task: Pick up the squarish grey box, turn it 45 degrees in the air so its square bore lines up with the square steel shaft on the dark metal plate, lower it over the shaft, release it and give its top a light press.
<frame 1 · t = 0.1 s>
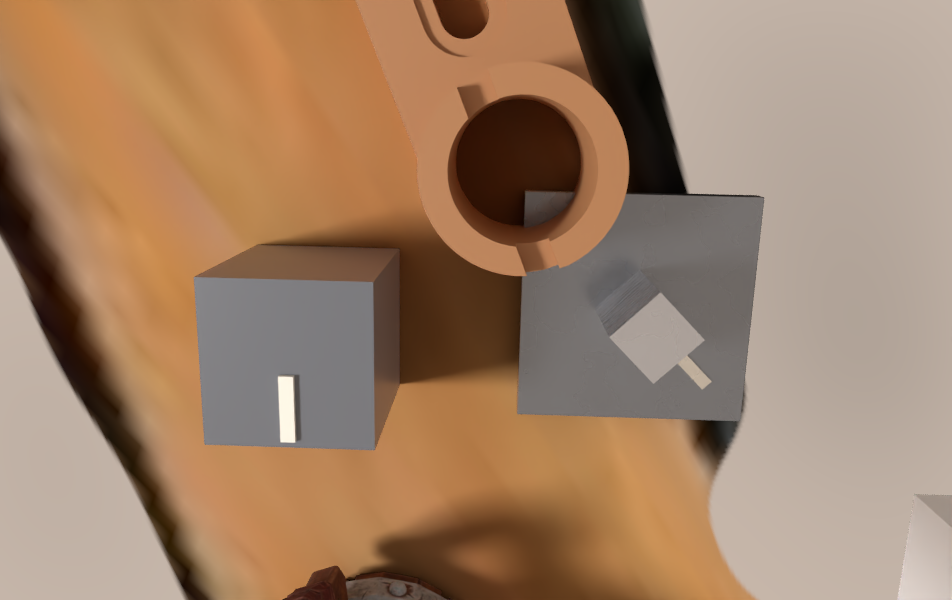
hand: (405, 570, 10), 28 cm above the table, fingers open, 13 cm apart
bracket: (482, 64, 36), on the table
shaft base: (632, 305, 38), on the table
squarish grey box: (329, 315, 38), on the table
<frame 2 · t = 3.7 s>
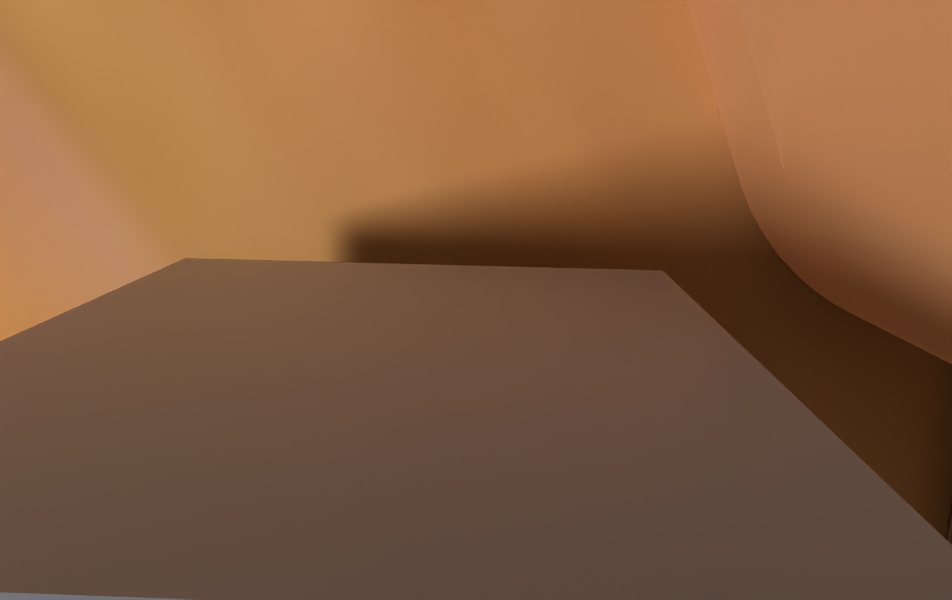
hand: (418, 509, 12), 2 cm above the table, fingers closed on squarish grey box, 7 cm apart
squarish grey box: (421, 483, 12), point 2 cm above the table, touching gripper
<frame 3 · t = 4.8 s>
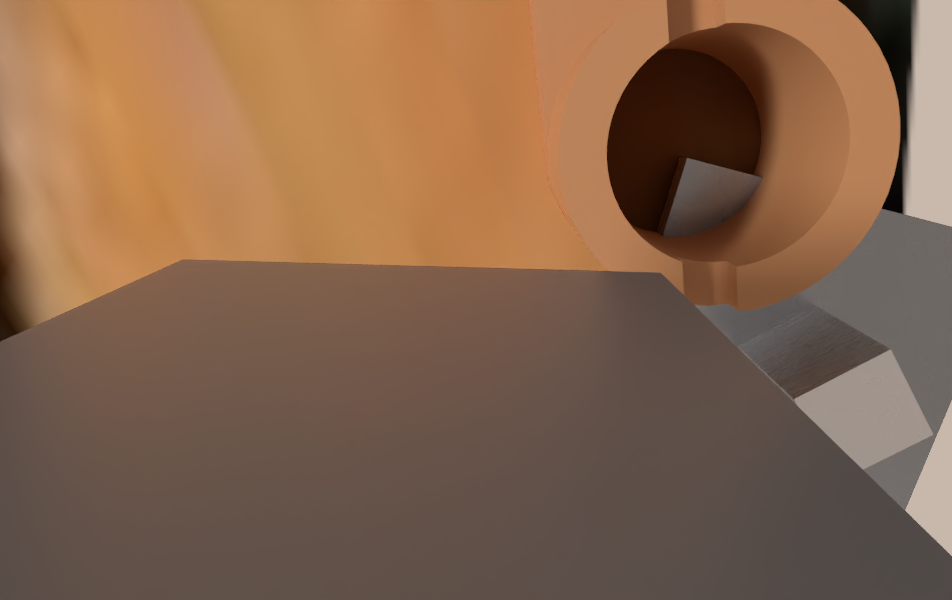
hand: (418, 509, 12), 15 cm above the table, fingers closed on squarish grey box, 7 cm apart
shaft base: (783, 352, 27), on the table
squarish grey box: (418, 485, 12), point 15 cm above the table, touching gripper
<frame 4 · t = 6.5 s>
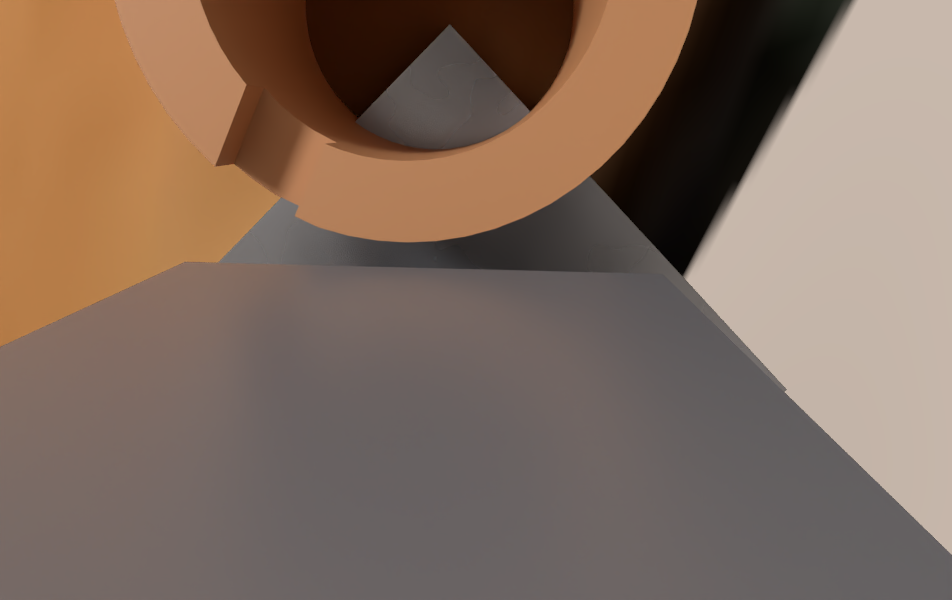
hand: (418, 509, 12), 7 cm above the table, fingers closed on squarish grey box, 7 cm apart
shaft base: (448, 366, 19), on the table
squarish grey box: (421, 486, 12), point 7 cm above the table, touching gripper
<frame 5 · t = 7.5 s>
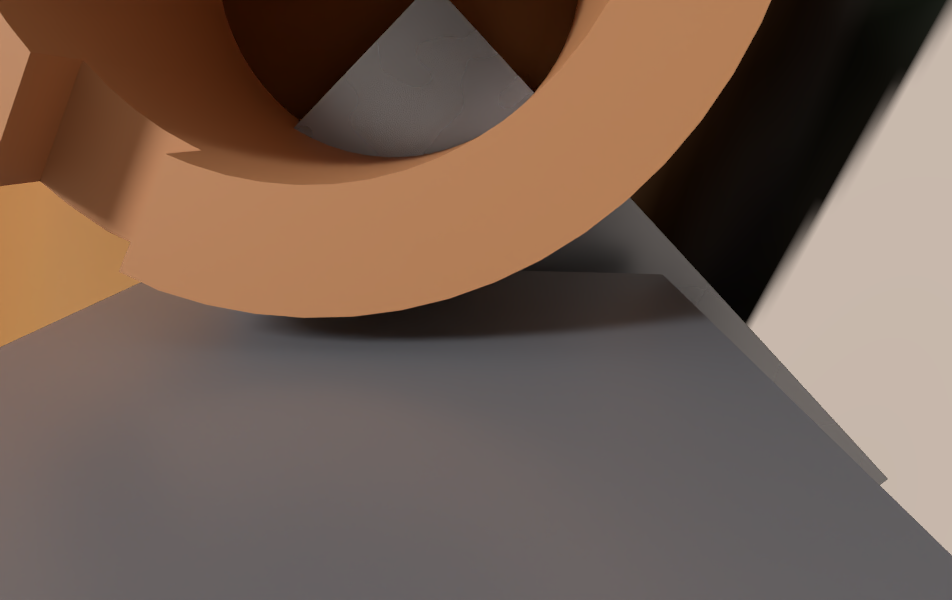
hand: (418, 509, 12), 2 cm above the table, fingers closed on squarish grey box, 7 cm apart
shaft base: (434, 440, 14), on the table
squarish grey box: (421, 487, 12), point 2 cm above the table, touching gripper
when the fingers open (2 cm above the table, at t = 7.9 s): squarish grey box stays where it is, resting on shaft base.
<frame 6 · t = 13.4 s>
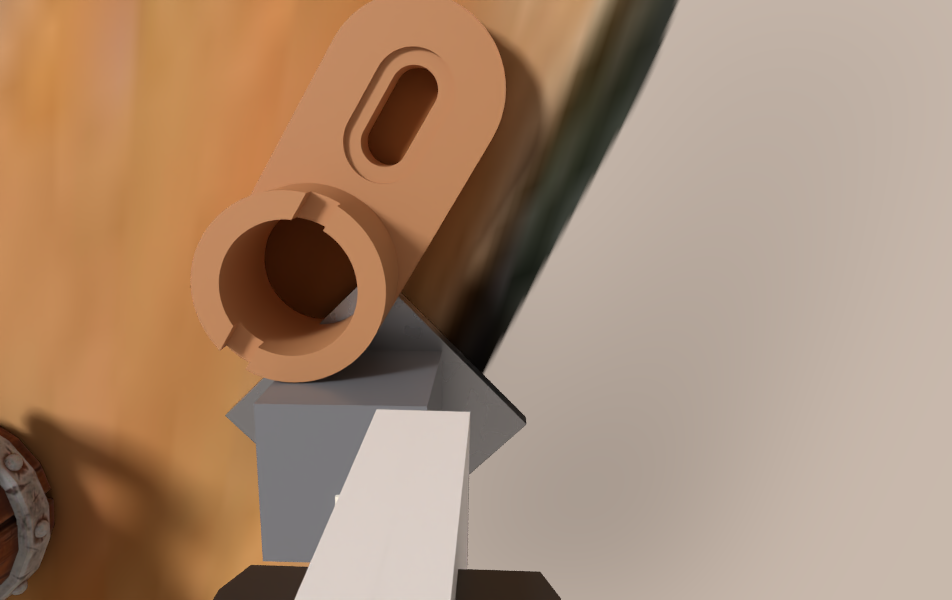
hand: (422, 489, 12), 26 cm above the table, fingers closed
bracket: (371, 178, 38), on the table
shaft base: (378, 412, 40), on the table
squarish grey box: (374, 416, 39), point 1 cm above the table, touching shaft base
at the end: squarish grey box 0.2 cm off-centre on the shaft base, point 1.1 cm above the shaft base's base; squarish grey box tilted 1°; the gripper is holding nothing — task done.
